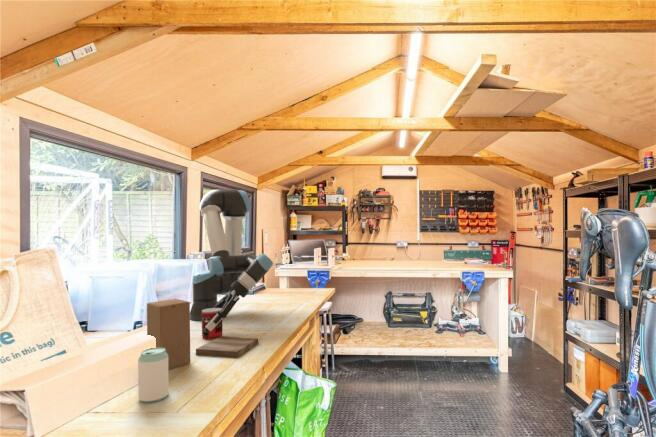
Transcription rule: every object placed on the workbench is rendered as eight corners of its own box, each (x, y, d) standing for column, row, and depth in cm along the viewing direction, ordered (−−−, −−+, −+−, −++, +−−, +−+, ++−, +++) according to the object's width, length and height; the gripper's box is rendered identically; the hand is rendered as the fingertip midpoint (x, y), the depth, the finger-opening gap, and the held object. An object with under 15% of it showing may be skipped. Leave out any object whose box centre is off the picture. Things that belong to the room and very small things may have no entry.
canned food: (201, 335, 154) (200, 309, 154) (221, 333, 157) (220, 307, 157) (202, 340, 147) (202, 312, 147) (223, 337, 150) (223, 310, 150)
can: (165, 402, 94) (164, 353, 94) (134, 405, 92) (134, 356, 92) (171, 390, 100) (170, 345, 101) (142, 393, 99) (142, 347, 99)
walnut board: (220, 341, 145) (220, 336, 145) (258, 343, 141) (258, 338, 141) (195, 354, 130) (195, 348, 130) (237, 357, 125) (237, 351, 125)
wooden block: (191, 363, 121) (190, 301, 122) (159, 372, 114) (159, 306, 114) (177, 356, 128) (176, 298, 129) (146, 365, 121) (146, 302, 121)
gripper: (255, 295, 147) (216, 338, 141) (244, 287, 170) (210, 324, 164) (241, 282, 145) (201, 326, 139) (232, 276, 168) (197, 313, 162)
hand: (206, 325), depth 151 cm, fingers open, 13 cm apart
